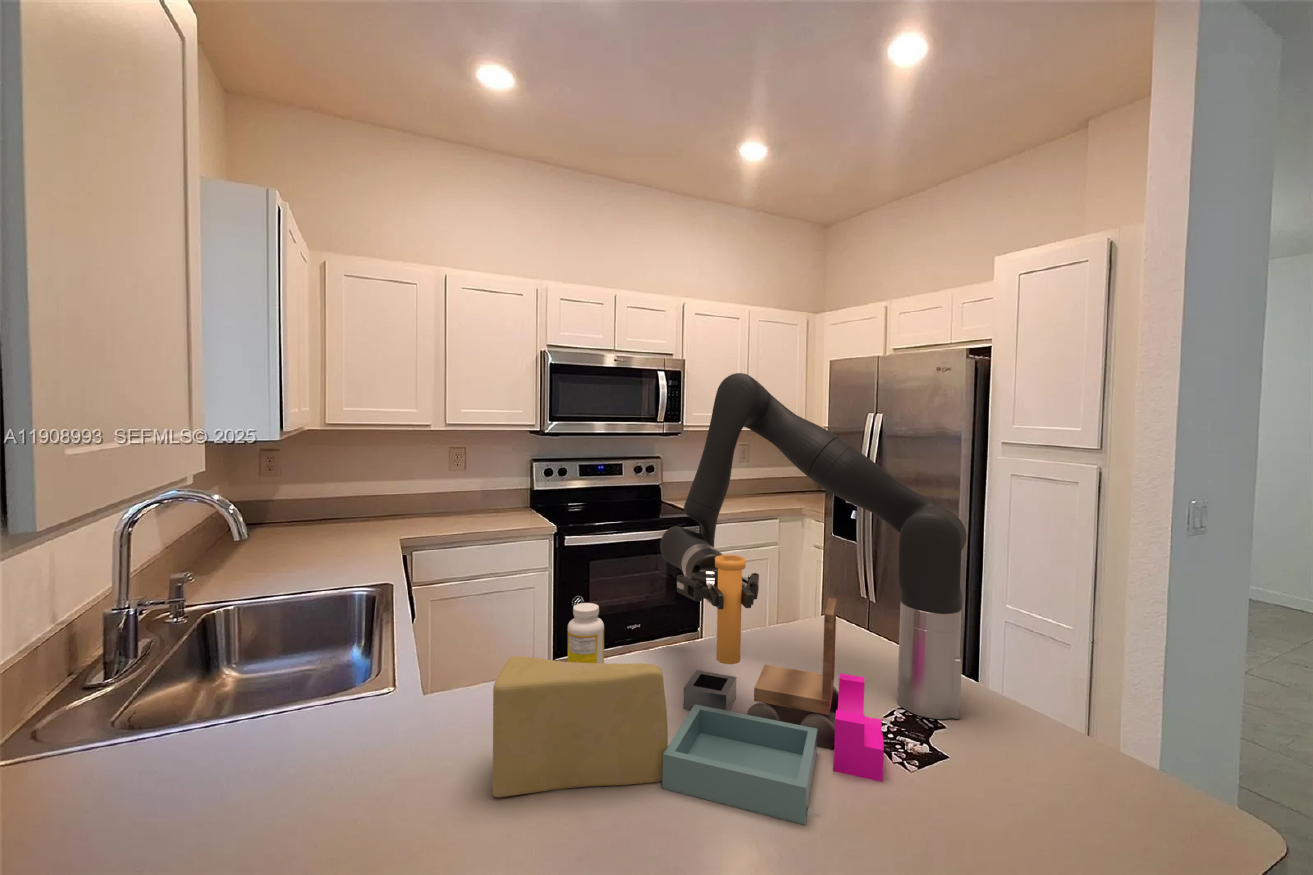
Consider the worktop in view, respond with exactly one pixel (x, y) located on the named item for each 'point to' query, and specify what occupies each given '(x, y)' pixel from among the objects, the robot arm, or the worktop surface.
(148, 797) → the worktop surface
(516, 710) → the cheese
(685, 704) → the pin socket
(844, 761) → the toy block
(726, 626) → the pin
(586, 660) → the supplement bottle
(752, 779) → the tray
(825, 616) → the trolley
